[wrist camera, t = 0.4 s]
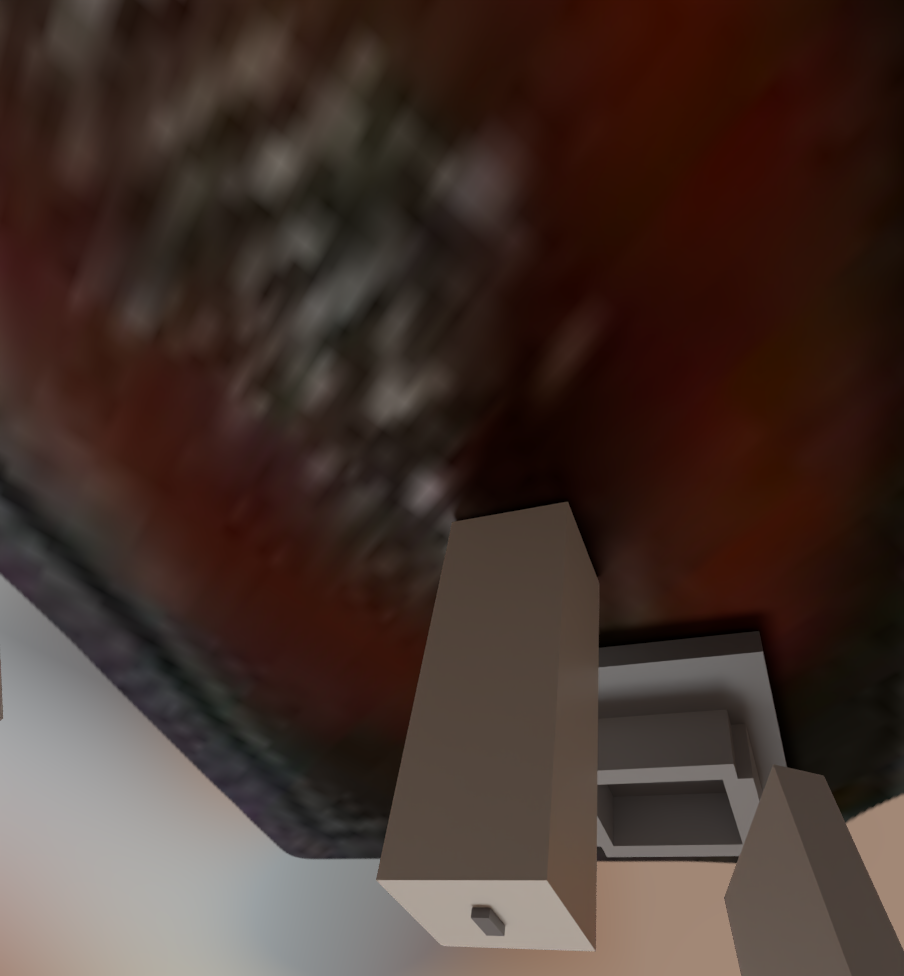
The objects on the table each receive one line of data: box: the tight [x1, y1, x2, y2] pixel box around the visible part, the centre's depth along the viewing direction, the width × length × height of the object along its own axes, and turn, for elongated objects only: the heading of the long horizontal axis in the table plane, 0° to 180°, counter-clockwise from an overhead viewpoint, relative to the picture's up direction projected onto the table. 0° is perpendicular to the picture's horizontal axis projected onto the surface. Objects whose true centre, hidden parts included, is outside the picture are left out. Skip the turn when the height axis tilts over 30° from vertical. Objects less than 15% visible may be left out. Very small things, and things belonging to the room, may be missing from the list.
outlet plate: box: [597, 631, 787, 857], centre depth 36 cm, size 16×11×4 cm
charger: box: [376, 502, 599, 951], centre depth 25 cm, size 4×4×13 cm
